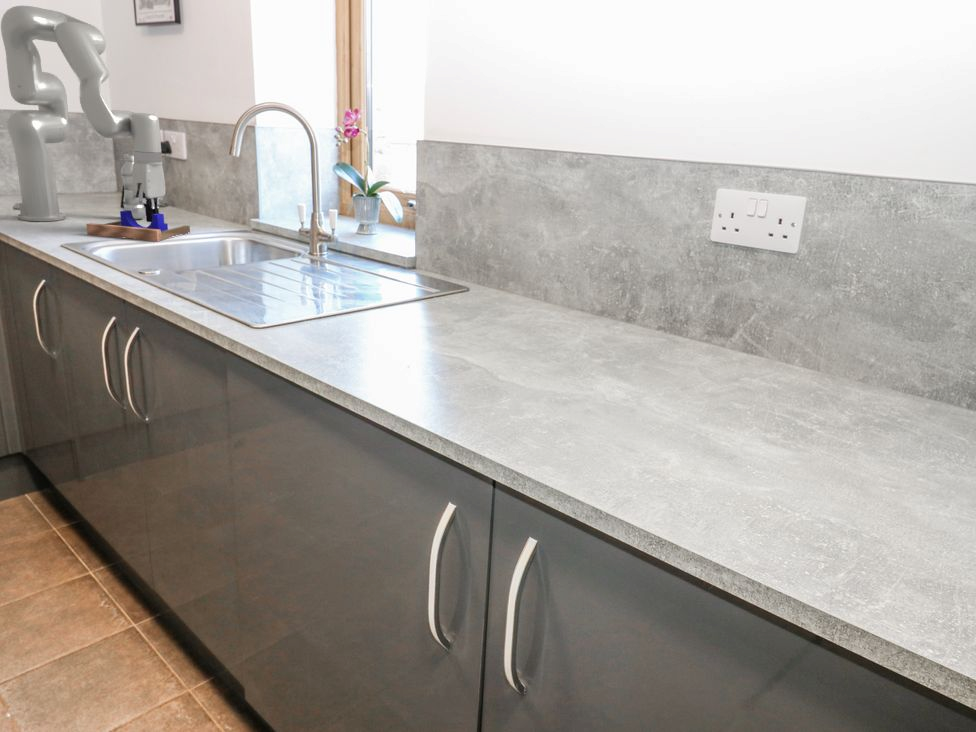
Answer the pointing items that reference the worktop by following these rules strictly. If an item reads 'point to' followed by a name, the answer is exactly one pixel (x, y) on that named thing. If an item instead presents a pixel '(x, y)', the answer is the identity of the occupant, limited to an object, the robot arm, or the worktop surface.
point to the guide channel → (133, 231)
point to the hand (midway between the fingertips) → (153, 221)
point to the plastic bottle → (131, 189)
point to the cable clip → (130, 222)
